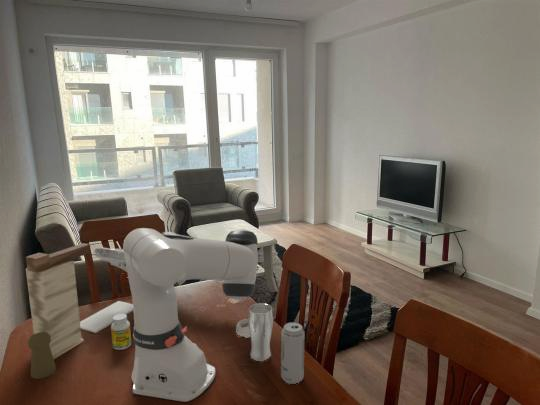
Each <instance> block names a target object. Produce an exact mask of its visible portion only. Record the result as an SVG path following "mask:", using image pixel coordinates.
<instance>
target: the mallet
mask: <svg viewBox="0 0 540 405" xmlns="http://www.w3.org/2000/svg"><path fill="white" fill-rule="evenodd" d="M90 253H92V252H91V244H90V243H83V242H81V243H80V244H77V245H76V244H75V245H74V246H70V247H68V248H64V249H62V250H58V251H55V252H52V253H49V254H47V253H43V252H37V253H34V254H31V255H28V256H25V261H26V262H25V263H26V269H27V270H28V271H32V272H36V273H38V272H41V271H43V270H46V269H49V268H50V267H52V266H55V265H58V264H60V263H63V262H66V261H72V260H75V259H77V258H79V257H83V256H86V255H87V254H90Z"/></svg>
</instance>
